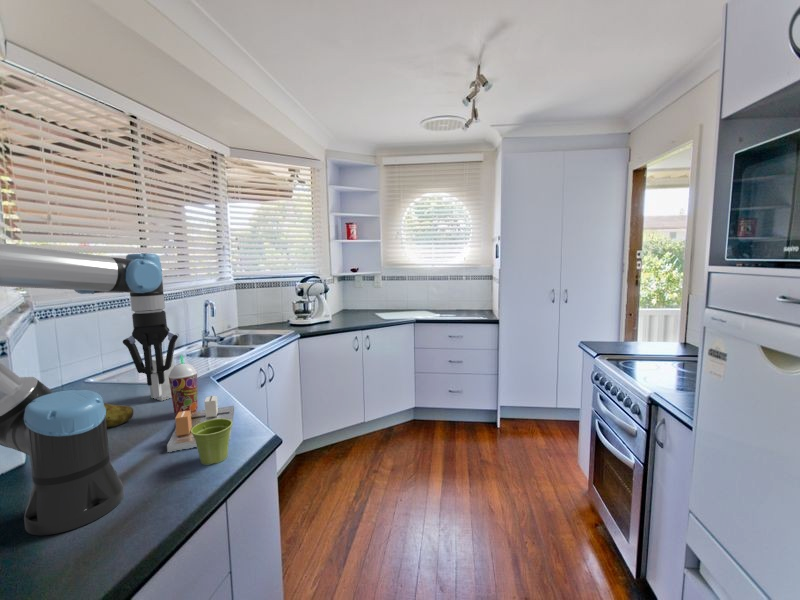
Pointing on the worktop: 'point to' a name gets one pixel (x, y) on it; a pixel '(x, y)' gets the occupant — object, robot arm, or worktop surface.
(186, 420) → the fader near
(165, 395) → the skincare box
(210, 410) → the fader far
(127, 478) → the worktop surface
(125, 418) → the potato
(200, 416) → the console
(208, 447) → the plant pot
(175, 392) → the smoothie
